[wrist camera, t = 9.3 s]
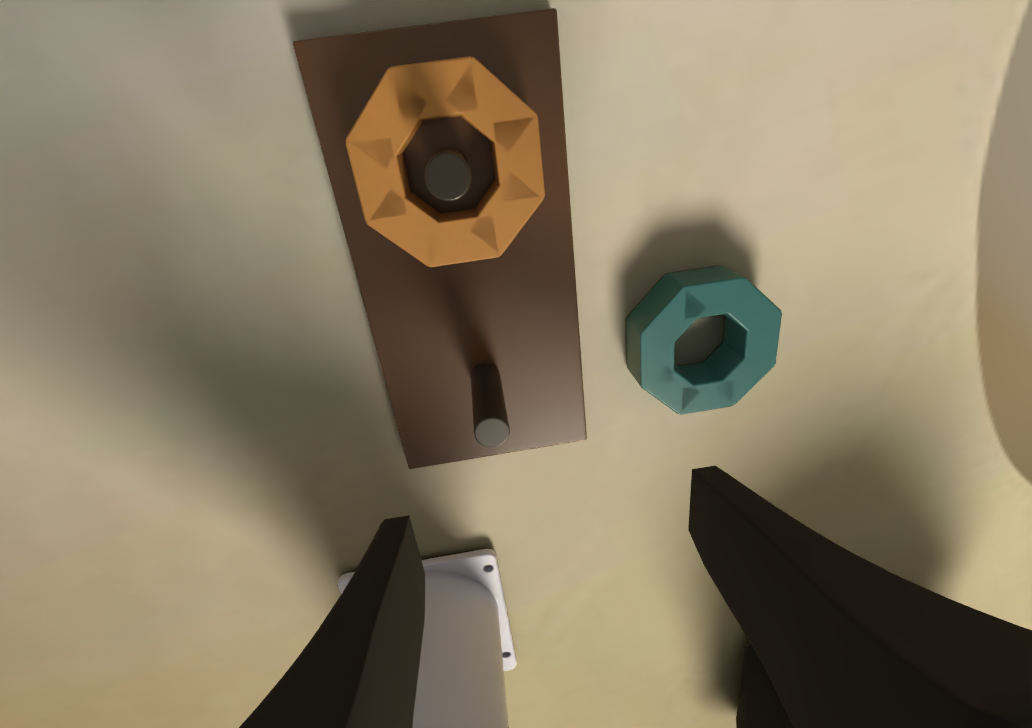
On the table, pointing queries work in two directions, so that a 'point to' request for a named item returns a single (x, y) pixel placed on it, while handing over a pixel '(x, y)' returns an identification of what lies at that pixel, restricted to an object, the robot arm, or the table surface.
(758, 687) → the penguin
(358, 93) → the peg rack
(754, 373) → the teal ring
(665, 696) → the table surface
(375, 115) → the ochre ring
